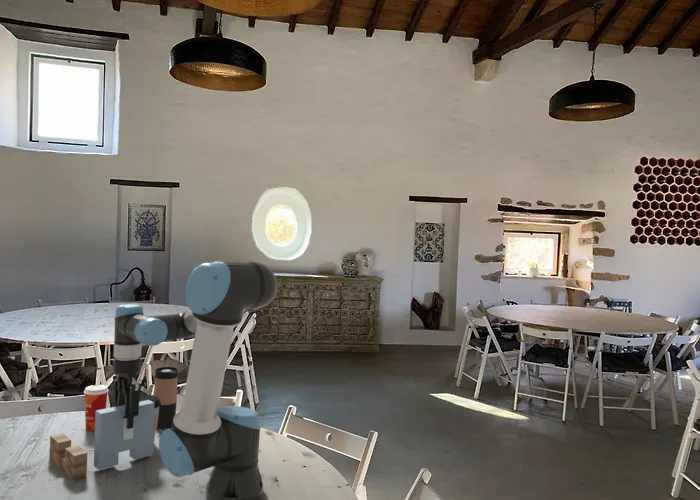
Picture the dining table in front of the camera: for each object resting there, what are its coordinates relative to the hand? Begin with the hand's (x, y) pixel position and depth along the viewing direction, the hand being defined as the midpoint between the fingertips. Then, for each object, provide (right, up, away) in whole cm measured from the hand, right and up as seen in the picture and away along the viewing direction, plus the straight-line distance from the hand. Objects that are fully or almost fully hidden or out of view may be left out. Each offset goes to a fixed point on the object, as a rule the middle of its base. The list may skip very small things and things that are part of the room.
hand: (124, 436), depth 161 cm
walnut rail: (-15, -8, -4) cm, 17 cm away
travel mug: (+1, -7, +32) cm, 33 cm away
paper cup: (-21, -6, +26) cm, 34 cm away
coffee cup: (0, -8, +15) cm, 17 cm away
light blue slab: (0, -7, 0) cm, 7 cm away
